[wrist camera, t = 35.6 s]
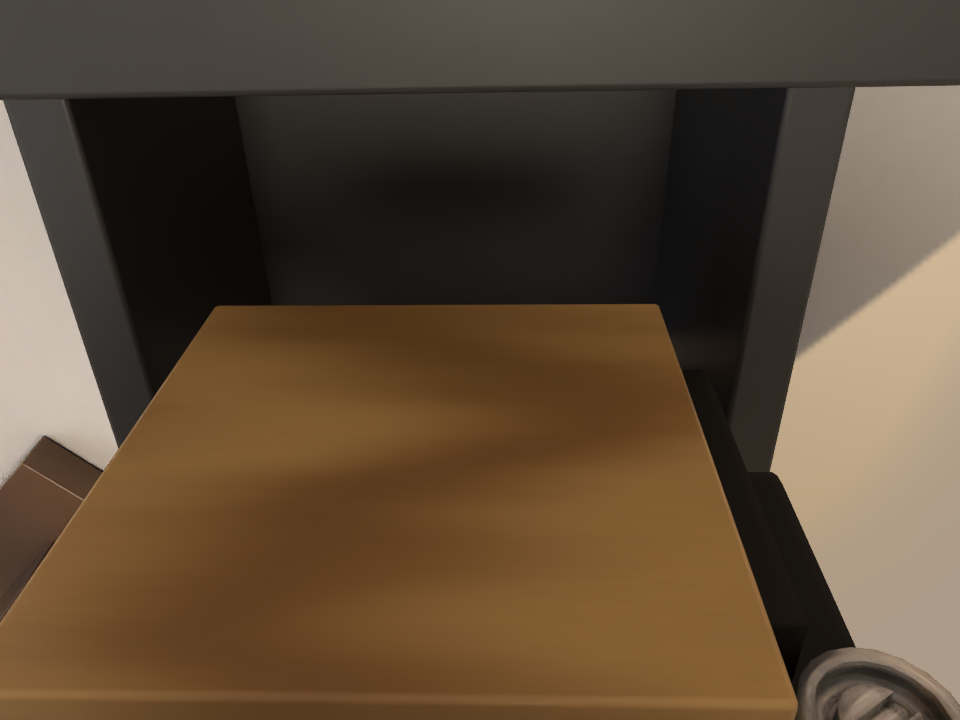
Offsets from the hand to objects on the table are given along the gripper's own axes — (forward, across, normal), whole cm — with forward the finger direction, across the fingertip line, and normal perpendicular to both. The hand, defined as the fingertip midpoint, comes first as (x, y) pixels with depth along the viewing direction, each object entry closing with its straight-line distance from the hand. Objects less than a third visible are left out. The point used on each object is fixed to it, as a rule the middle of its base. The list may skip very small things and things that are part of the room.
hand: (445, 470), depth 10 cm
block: (0, 0, 0) cm, 0 cm away
